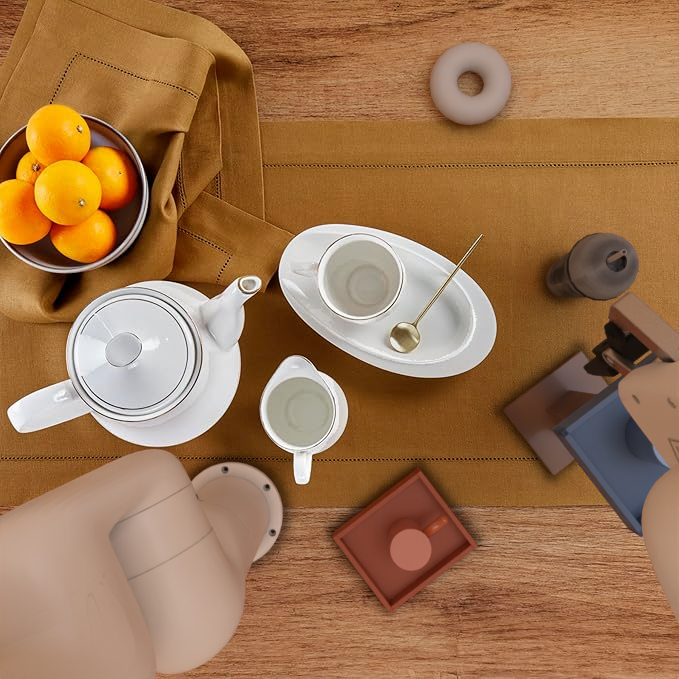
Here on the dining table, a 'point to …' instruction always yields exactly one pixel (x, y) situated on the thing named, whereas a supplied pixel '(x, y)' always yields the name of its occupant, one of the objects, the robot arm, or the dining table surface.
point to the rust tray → (372, 547)
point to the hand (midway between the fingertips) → (650, 416)
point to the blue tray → (610, 453)
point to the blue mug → (642, 445)
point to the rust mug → (412, 542)
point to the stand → (553, 409)
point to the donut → (487, 67)
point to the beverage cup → (595, 268)
